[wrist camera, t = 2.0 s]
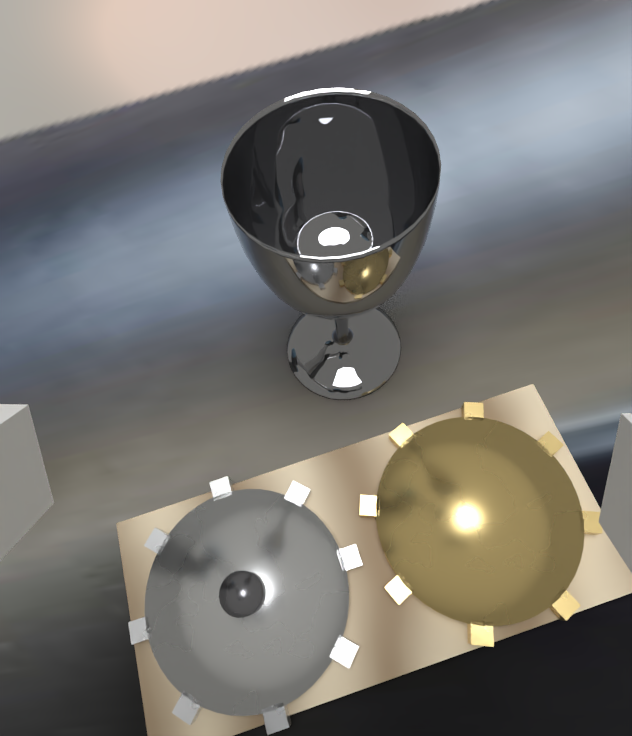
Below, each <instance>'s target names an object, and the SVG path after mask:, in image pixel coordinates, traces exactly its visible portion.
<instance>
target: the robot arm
mask: <svg viewBox="0 0 632 736" xmlns="http://www.w3.org/2000/svg"><path fill="white" fill-rule="evenodd" d="M53 504H54V501H53V497H52V493H51V490H50V486H49V482H48V478H47V474H46V471H45V467H44V463H43V459H42V455H41V451H40V448H39V444H38V440H37V436H36V432H35V428H34V425H33V421H32V417H31V413H30V409H29V405H18V404H0V561H1V560H2V559H3V558H4V557H5V555H6V554H7V553H8V552H9V551H10V550H11V549H12V548H13V547H14V546H15V545H16V544H17V543H18V541H19V540H20V539H21V538H22V537H23V536H24V535H25V534H26V533H27V532H28V531H29V530H30V528H31V527H32V526H33V525H34V524H35V523H36V522H37V521H38V520H39V519H40V518H41V517H42V516H43V514H44V513H45V512H46V511H47V510H48V509H49V508H50V507H51V506H52V505H53ZM599 523H600V525H601V527H602V528H603V530H604V531H605V533H606V534H607V536H608V537H609V539H610V541H611V542H612V544H613V545H614V547H615V548H616V550H617V551H618V553H619V555H620V556H621V558H622V559H623V561H624V562H625V564H626V565H627V567H628V568H629V570H630V572H631V573H632V413H621V417H620V422H619V426H618V431H617V436H616V441H615V445H614V450H613V455H612V460H611V464H610V469H609V474H608V479H607V483H606V488H605V493H604V498H603V502H602V507H601V512H600V517H599Z"/></svg>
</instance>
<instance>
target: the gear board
mask: <svg viewBox="0 0 632 736" xmlns="http://www.w3.org/2000/svg"><path fill="white" fill-rule="evenodd" d="M210 487H211V491H212V492H209V493H206V494H203V495H200V496H197V497H194V498H191V499H188V500H185V501H182V502H179V503H176V504H173V505H170V506H167V507H164V508H161V509H158V510H155V511H152V512H149V513H146V514H143V515H140V516H137V517H134V518H131V519H128V520H125V521H122V522H119V523H116V524H117V531H118V538H119V545H120V551H121V558H122V565H123V572H124V578H125V585H126V592H127V599H128V605H129V612H130V619H131V622H128V625H129V631H130V638H131V645H133V644H134V646H135V653H136V660H137V666H138V673H139V680H140V687H141V693H142V700H143V707H144V714H145V720H146V727H147V734H148V736H234V735H236V734H239V733H242V732H245V731H248V730H250V729H253V728H256V727H259V726H261V725H264V724H265V727H266V731H267V735H269V734H272V733H275V732H278V731H280V730H283V729H286V728H289V727H290V725H291V719H290V715H292V714H295V713H298V712H301V711H303V710H306V709H309V708H312V707H315V706H317V705H320V704H323V703H326V702H328V701H331V700H334V699H337V698H340V697H342V696H345V695H348V694H351V693H354V692H356V691H359V690H362V689H365V688H368V687H370V686H373V685H376V684H379V683H382V682H384V681H387V680H390V679H393V678H395V677H398V676H401V675H404V674H407V673H409V672H412V671H415V670H418V669H421V668H423V667H426V666H429V665H432V664H435V663H437V662H440V661H443V660H446V659H449V658H451V657H454V656H457V655H460V654H462V653H465V652H468V651H471V650H474V649H476V648H479V647H482V646H490V647H494V642H496V641H499V640H502V639H504V638H507V637H510V636H513V635H516V634H518V633H521V632H524V631H527V630H530V629H532V628H535V627H538V626H541V625H543V624H546V623H549V622H552V621H555V620H557V619H560V620H564V621H567V620H568V619H569V618H570V617H571V616H572V614H574V613H577V612H580V611H583V610H585V609H588V608H591V607H594V606H597V605H599V604H602V603H605V602H608V601H610V600H613V599H616V598H619V597H622V596H624V595H627V594H630V593H632V573H631V572H630V570H629V568H628V567H627V565H626V564H625V562H624V561H623V559H622V558H621V556H620V555H619V553H618V551H617V550H616V548H615V547H614V545H613V544H612V542H611V541H610V539H609V537H608V536H607V534H606V533H605V531H604V530H603V528H602V527H601V525H600V523H599V517H600V512H601V509H600V507H599V506H598V504H597V502H596V500H595V498H594V496H593V494H592V493H591V491H590V489H589V487H588V485H587V483H586V481H585V480H584V478H583V476H582V474H581V472H580V470H579V468H578V466H577V465H576V463H575V461H574V459H573V457H572V455H571V453H570V452H569V450H568V448H567V446H566V444H565V442H564V440H563V439H562V437H561V435H560V433H559V431H558V429H557V427H556V425H555V424H554V422H553V420H552V418H551V416H550V414H549V412H548V411H547V409H546V407H545V405H544V403H543V401H542V399H541V398H540V396H539V394H538V392H537V390H536V388H535V386H534V384H531V385H528V386H525V387H522V388H519V389H516V390H513V391H510V392H507V393H504V394H501V395H498V396H495V397H492V398H489V399H487V400H484V401H481V402H478V403H472V402H464V403H463V405H462V408H460V409H457V410H454V411H451V412H448V413H445V414H442V415H439V416H436V417H433V418H430V419H427V420H424V421H421V422H418V423H415V424H412V425H409V426H406V425H405V424H404V423H402V424H401V425H399V426H398V427H397V428H396V429H395V430H394V431H391V432H388V433H385V434H382V435H379V436H376V437H373V438H370V439H367V440H364V441H361V442H358V443H355V444H352V445H349V446H346V447H343V448H340V449H337V450H334V451H331V452H328V453H325V454H322V455H319V456H316V457H313V458H310V459H307V460H304V461H301V462H298V463H295V464H292V465H289V466H286V467H283V468H280V469H277V470H274V471H271V472H268V473H265V474H262V475H259V476H256V477H253V478H250V479H247V480H244V481H241V482H238V483H235V484H232V480H231V479H230V478H229V477H228V476H227V477H224V478H221V479H218V480H215V481H212V482H210Z"/></svg>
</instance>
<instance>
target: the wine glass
mask: <svg viewBox="0 0 632 736" xmlns="http://www.w3.org/2000/svg"><path fill="white" fill-rule="evenodd" d="M440 172H441V161H440V154H439V149H438V146H437V144H436V141H435V139H434V136H433V135H432V133H431V132H430V130H429V129H428V127H427V126H426V124H425V123H424V122H423V121H422V120H421V119H420V118H419V117H418V116H417V115H416V114H415V113H414V112H412V111H411V110H410V109H408V108H407V107H405V106H404V105H402V104H401V103H399V102H397V101H395V100H393V99H391V98H388V97H386V96H383V95H380V94H377V93H374V92H370V91H364V90H359V89H351V88H328V89H317V90H312V91H307V92H303V93H299V94H296V95H293V96H290V97H287V98H284V99H282V100H280V101H278V102H276V103H274V104H272V105H270V106H268V107H267V108H265V109H264V110H262V111H261V112H259V113H258V114H256V115H255V116H254V117H253V118H252V119H250V120H249V121H248V122H247V123H246V124H245V125H244V126H243V127H242V128H241V129H240V131H239V132H238V133H237V134H236V136H235V137H234V138H233V140H232V142H231V144H230V146H229V147H228V149H227V151H226V154H225V157H224V160H223V164H222V170H221V187H222V194H223V198H224V202H225V205H226V208H227V211H228V213H229V216H230V219H231V222H232V224H233V227H234V230H235V232H236V235H237V237H238V239H239V241H240V244H241V246H242V248H243V251H244V253H245V254H246V256H247V257H248V259H249V261H250V262H251V264H252V265H253V267H254V268H255V270H256V272H257V273H258V275H259V276H260V278H261V279H262V280H263V282H264V283H265V284H266V285H267V286H268V287H269V289H270V290H271V291H272V292H273V293H274V294H275V295H276V296H277V297H278V298H279V299H280V300H282V301H283V302H285V303H286V304H288V305H289V306H290V307H292V308H293V309H295V310H297V311H299V312H301V313H303V314H302V315H301V316H300V317H299V318H298V320H297V321H296V323H295V324H294V326H293V327H292V330H291V332H290V335H289V338H288V343H287V355H288V361H289V364H290V367H291V369H292V371H293V373H294V375H295V376H296V378H297V379H298V380H299V381H300V382H301V383H302V384H303V385H304V386H305V387H306V388H308V389H309V390H310V391H312V392H314V393H316V394H318V395H320V396H323V397H326V398H329V399H337V400H351V399H356V398H360V397H363V396H366V395H368V394H371V393H372V392H374V391H376V390H377V389H379V388H380V387H381V386H382V385H384V384H385V383H386V382H387V381H388V380H389V378H390V377H391V376H392V375H393V373H394V371H395V369H396V367H397V365H398V362H399V359H400V352H401V343H400V337H399V333H398V330H397V328H396V326H395V324H394V322H393V321H392V320H391V318H390V317H389V316H388V315H387V314H386V313H385V312H384V311H383V310H382V309H380V308H379V306H381V305H382V304H383V303H385V302H386V301H387V300H388V299H389V298H391V297H392V296H393V295H394V294H395V293H396V291H397V290H398V289H399V288H400V287H401V286H402V284H403V283H404V282H405V280H406V279H407V277H408V275H409V274H410V272H411V270H412V269H413V267H414V265H415V263H416V262H417V260H418V258H419V255H420V253H421V251H422V249H423V246H424V244H425V242H426V238H427V235H428V232H429V229H430V226H431V222H432V218H433V214H434V210H435V207H436V201H437V196H438V190H439V182H440Z"/></svg>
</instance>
